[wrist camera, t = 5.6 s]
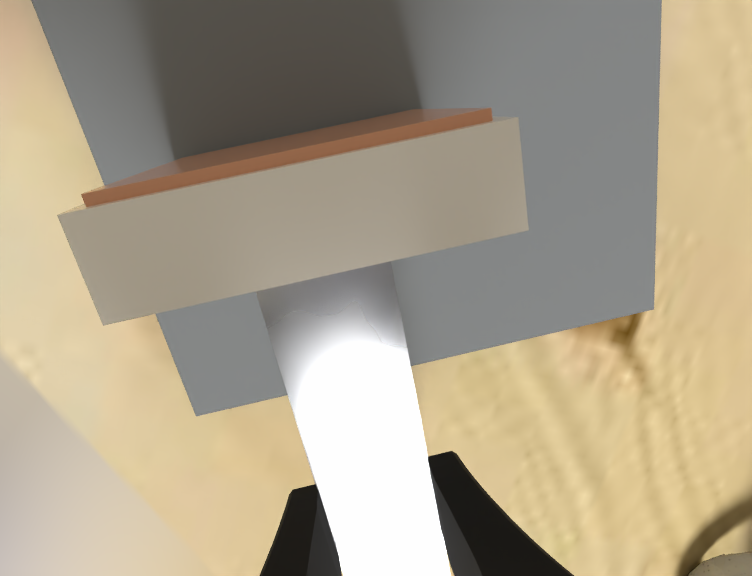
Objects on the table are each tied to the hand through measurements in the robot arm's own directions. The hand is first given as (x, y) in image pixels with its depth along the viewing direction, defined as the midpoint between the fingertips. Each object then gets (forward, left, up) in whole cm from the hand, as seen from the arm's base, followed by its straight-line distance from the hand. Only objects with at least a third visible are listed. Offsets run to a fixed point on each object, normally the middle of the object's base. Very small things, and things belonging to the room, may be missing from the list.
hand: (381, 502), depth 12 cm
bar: (0, 0, -2) cm, 2 cm away
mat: (-2, -8, -6) cm, 10 cm away
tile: (0, -7, -6) cm, 9 cm away
